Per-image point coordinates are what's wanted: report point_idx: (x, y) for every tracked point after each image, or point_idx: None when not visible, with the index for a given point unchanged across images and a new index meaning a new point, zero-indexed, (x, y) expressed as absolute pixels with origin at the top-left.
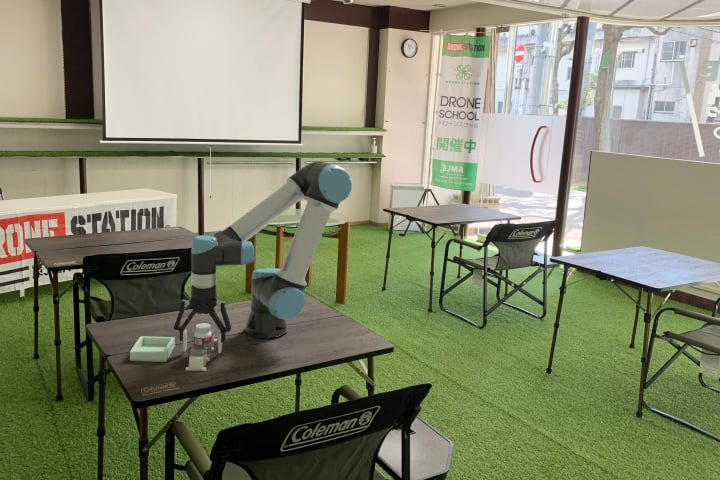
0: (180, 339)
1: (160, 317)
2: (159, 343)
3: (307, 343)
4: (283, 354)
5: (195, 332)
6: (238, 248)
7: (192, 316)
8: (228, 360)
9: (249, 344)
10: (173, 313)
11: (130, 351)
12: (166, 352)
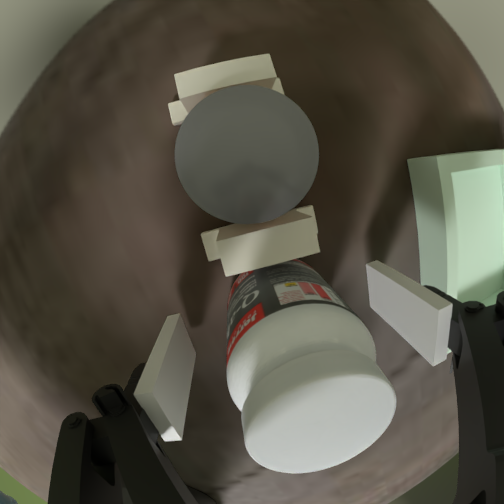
0: (430, 289)
1: (453, 450)
2: None
3: (23, 441)
4: (7, 375)
5: (368, 356)
6: None
7: (492, 440)
8: (116, 277)
9: None
10: (427, 475)
11: None
12: (437, 163)
